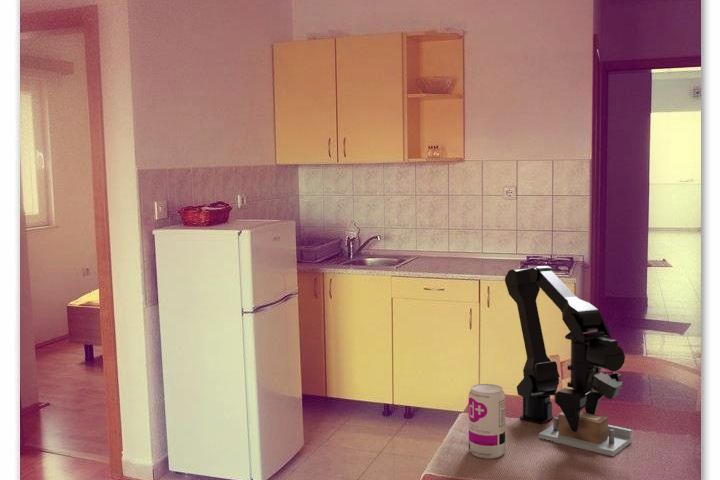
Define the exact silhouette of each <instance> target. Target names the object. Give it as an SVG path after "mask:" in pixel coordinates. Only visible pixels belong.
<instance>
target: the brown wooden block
mask: <svg viewBox="0 0 720 480" xmlns="http://www.w3.org/2000/svg"><path fill="white" fill-rule="evenodd" d="M558 415H559V418H558V417H557V418H558V435H562V436H566V437H570V438H575V439H579V440H583V441H587V442H592V443H596V444H601V443H602V442H603V441H605V440H606V439H608V425H609V416H604V415H599V414H590V413H586V411H585V412H584V411H580V417H579V424H578V430H577V432H573V431H572V430H571V428H570V426H569V423H568V421H567V419H566V417H565V415H564V413H563V412H562V411H561V412H559V413H558Z"/></svg>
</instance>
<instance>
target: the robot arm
mask: <svg viewBox="0 0 720 480" xmlns="http://www.w3.org/2000/svg"><path fill="white" fill-rule="evenodd" d="M504 282H505V285H506V286H505V287H506V289H507V292H508V295H509V297H511V299H513V301H514V302H515V303H516V306H517V307H516V308H517V311H518V317H519V322H520V328H521V333H522V338H523V344H524V348H525V354H526V361H525V364H524V366H523V369H522V372H523V378H522V379H521V381H520V382H519V383H518V384H517V386H516V391H517V395H518V396H520V397H522V415H520V416H519V419H520V420H524V421H528V420H529V422H532V421H534V422H533V423H537V422H539V423H538V424H545V423H546V422H548V421H549V420H551V419H553V418H554V415H553V402H554V403H555V404H556V405H557V407H559V408H560V409H561V412H563V413H564V415H565V417H566V419H567V421H568V423H569V426H570V428H571V430H572V431H573V432H577V430H578V424H579V417H580V412H582V410H583V409H584V410H585V413H590V414H595V415H597V410H598V407H599V404H600V401H601V399H602V398H603V397H604V398H605V399H608V400H613V399H614V398H617V397H619V393H620V392H621V391H620V390H622V388H624V385H623V384H624V382H623V380H622V374H621V373H619V372H617V371H619V370H620V369H621V368H622V367H623V365H624V364H625V358H626V355H625V353H624V351H623V348H621V347H620V346H619V345H618V344H619V343H618V340H616V339H611V337H612V336H611V333H610V332H609V331H610V330H609V328H608V326H607V325H606V323H605V321H604V319H603V317H602V316H603V315H602V313H601V311H600V310H599V309H598V308H597V307H595V306H594V305H593V304H591V303H590V302H588V301H585V300H584V299H580V298H579V297H577V296H576V295H575V294H574V293H573V292H572V291H571V290H570V289H569V287H568V286H567V285H566V284H565V283H564V282H563V281H562V280H561V279H560V278H559V277H558V275H556V274H555V273H554V269H553V268H552V267H551V266H548V265H541V266H540V265H539V266H537V265H536V266H533V267H527V268H525V267H524V268H515V269H509V270H508V272H507V274H506V275H505V277H504ZM540 290H542V291H543V293H544V294H545V295H546V296H547V297H548V298H549V299H550V300H551V301H552V303H554V305H555V306H556V307H557V308H558V309H559V310H560V312H561V317H562V318H561V319H562V321H563V322H564V324H565V325H566V327H567V329H568V331H569V333H567V334H565V336H564V338H565V339H566V340H570V364H567V370H568V371H570V381H568V382H567V383H566V384H567V387H568V388H566V387H563V388H562V389H560V390H558V391H557V389H558V386H559V384H560V374H559V370H558V363H557V361H555V360H553V361H552V360H551V359H550V358H549V357H548V354H547V350H546V345H545V339H544V336H543V331H542V330H543V328H542V325H541V320H540V315H539V311H538V305H537V298H538V295H539V293H540ZM602 369H603V370H606V371H609V372H613V373H611V374H610V375H609V373H606V374H605V373H603V372H602ZM551 396H553V399H554V401H553V402H552V401H551ZM544 422H545V423H544Z"/></svg>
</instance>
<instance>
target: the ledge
mask: <svg viewBox="0 0 720 480" xmlns="http://www.w3.org/2000/svg"><path fill="white" fill-rule="evenodd" d="M558 418H559V414H557V416H553V418H552V419H553V423H552V425H550V426H548V427H547V428H546V429H543V430H542V431H541V432H539V433H538V439H540V438H543V439H542V440H544V439H546V440H545V441H548V440H551V441H550V442H552V441H554V442H553V443H556V442H557V444H560V443H561V444H560V445H564V446H569V447H573V448H578V449H581V450H586V451H590V452H592V453H593V452H594V453H598V454H603V455H606V456H610V457H614V456H616V455H617V454H619V453H620V452H621V451H622V450H624V449H625V448H626V447H628V445H630V444H631V443H632V435H633V434H632V433H633V432H632V429H630V428H625V427H621V426H615V425H611V424H608V439H606V440H605V441H603V442H602V443H601V444H596V443H592V442H587V441H583V440H579V439H575V438H570V437H566V436H562V435H558Z"/></svg>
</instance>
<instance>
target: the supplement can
mask: <svg viewBox="0 0 720 480" xmlns="http://www.w3.org/2000/svg"><path fill="white" fill-rule="evenodd" d="M470 388H471V389H470V391H469V392H468V395H467V396H468V450H469V452H470V453H471V454H472V456H474V457H477V458H480V459H490V460H491V459H492V460H493V459H497V458H500V457H502V456H503V455H504V454H505V453H506V393H505V391H504V389H503V387H502V386H500V385H498V384H492V383H477V384H474V385H472V386H470Z"/></svg>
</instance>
